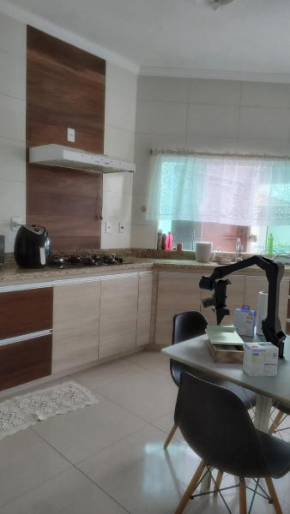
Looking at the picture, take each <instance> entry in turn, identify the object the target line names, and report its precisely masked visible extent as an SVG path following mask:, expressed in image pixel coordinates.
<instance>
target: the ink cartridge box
mask: <svg viewBox="0 0 290 514" xmlns="http://www.w3.org/2000/svg"><path fill="white" fill-rule="evenodd" d="M256 317H257V312H256V310H252V309H250V305H248V304H242V306H241V308H235V310H234V312H233V324H232V326H234V327H235V331H236V333H237V334H238V335H239V336H245V337H251V338H252V337H253V336H254V335H255V330H256Z"/></svg>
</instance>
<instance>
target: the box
mask: <svg viewBox="0 0 290 514" xmlns="http://www.w3.org/2000/svg"><path fill="white" fill-rule="evenodd" d="M207 338H208V337H207ZM207 349H208V352H209V354H210V356H211V358H212V361H213V363H214V364H230V365H231V364H232V365H234V364H235V365H243V361H244V345H228V344H211V342H210V340H209V338H208V339H207Z"/></svg>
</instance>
